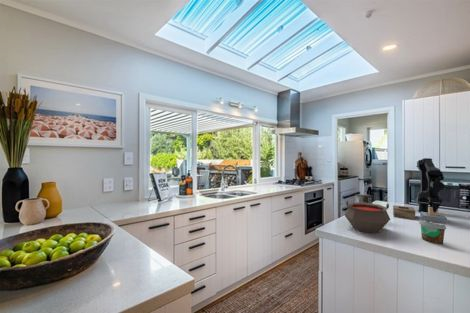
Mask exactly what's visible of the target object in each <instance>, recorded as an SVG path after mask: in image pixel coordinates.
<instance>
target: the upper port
mask: <svg viewBox="0 0 470 313" xmlns="http://www.w3.org/2000/svg"><path fill="white" fill-rule="evenodd" d="M392 206H393V207H392V215H393V218H399V219H406V218H407V219H408V220H414V221H416V210H415V208H414V207H413V206H405V205H403V206H402V205H394V204H392Z"/></svg>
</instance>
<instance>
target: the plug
mask: <svg viewBox="0 0 470 313" xmlns="http://www.w3.org/2000/svg"><path fill="white" fill-rule="evenodd" d="M438 214H439V208H438V209H437V211H436V212H433V208H432V207H430V206H428V215H431V216H438Z"/></svg>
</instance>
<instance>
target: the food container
mask: <svg viewBox="0 0 470 313" xmlns="http://www.w3.org/2000/svg"><path fill="white" fill-rule="evenodd" d="M418 224H420V230H421V231H420V232H421V234H420V235H421V240H423V241H425V242H427V243H431V244H436V245H437V244H438V245H444V239H445V238H444V237H445V231H446V230H447V226H446V224H440V223H437V222H430V221H426V220H425V218H420V219H419V222H418Z"/></svg>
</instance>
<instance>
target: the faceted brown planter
mask: <svg viewBox="0 0 470 313" xmlns="http://www.w3.org/2000/svg"><path fill="white" fill-rule="evenodd" d="M345 203H346V206H347V209H346V211H345V213H344V216H345V218H346V220H347V221H348V222H349V224H350V225H351V227H352V228H354V229H355V230H356V231H358V232H359V231H360V232H362V233H363V232H364V233H368V234H379V232H380V231H382V229H384V227H385V226H386V225H387V224H388V223H389V222H390V221H391V217H390V215H389V213H388V211H387V210H389V208H390V204H389V203H386V206H384V205H381V204H377V203H372V204H371V203H364V202H355V201H354V202H352V201H351V202H349V201H348V200H346V201H345Z"/></svg>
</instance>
